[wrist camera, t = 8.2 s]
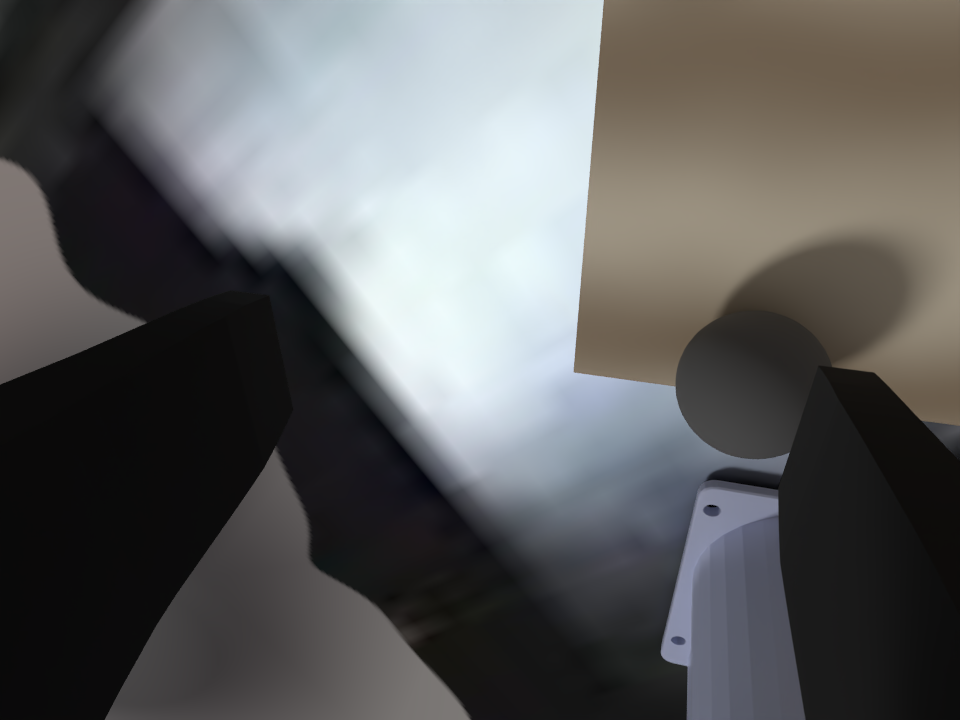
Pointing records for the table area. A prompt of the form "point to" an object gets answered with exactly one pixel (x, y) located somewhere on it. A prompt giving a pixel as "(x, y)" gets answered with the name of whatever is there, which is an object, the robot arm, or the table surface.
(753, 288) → the maple board
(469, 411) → the table surface
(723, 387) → the black ball
